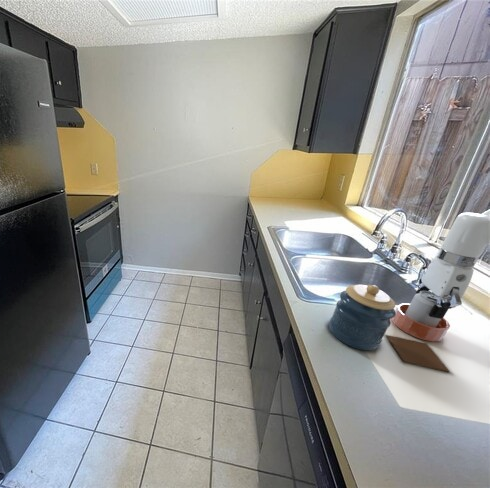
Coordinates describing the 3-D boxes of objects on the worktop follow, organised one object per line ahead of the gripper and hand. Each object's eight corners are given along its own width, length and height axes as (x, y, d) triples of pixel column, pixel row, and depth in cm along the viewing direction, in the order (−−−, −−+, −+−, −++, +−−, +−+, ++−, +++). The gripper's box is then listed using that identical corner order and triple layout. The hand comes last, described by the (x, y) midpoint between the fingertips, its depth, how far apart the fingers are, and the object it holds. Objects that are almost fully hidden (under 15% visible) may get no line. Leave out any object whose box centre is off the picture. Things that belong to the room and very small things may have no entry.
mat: (425, 344, 76) (426, 343, 75) (448, 372, 67) (449, 371, 67) (386, 336, 78) (386, 335, 78) (403, 361, 69) (404, 360, 69)
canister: (389, 345, 74) (416, 295, 67) (358, 356, 70) (384, 304, 63) (347, 316, 86) (366, 271, 78) (318, 324, 81) (336, 277, 74)
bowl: (426, 320, 86) (433, 308, 84) (451, 346, 75) (460, 333, 73) (384, 312, 89) (390, 300, 87) (403, 336, 78) (410, 323, 76)
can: (400, 326, 81) (417, 295, 77) (401, 316, 87) (417, 286, 82) (432, 339, 77) (452, 307, 72) (431, 327, 82) (450, 296, 77)
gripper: (500, 275, 63) (462, 330, 70) (451, 247, 78) (424, 295, 85) (462, 269, 65) (429, 324, 72) (421, 243, 80) (397, 290, 87)
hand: (426, 308), depth 79 cm, fingers closed on can, 7 cm apart
